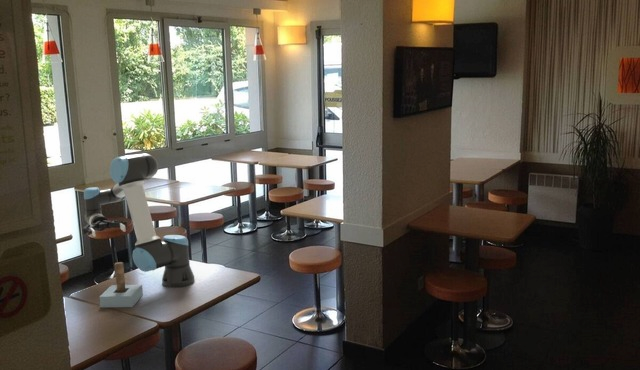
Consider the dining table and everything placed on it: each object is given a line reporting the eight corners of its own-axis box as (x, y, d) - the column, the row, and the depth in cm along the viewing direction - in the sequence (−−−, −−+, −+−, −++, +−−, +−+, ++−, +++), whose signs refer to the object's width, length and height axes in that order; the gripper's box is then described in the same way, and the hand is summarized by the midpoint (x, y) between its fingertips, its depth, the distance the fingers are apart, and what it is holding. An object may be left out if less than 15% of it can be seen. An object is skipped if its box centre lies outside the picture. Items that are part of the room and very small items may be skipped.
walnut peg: (127, 298, 258) (124, 262, 254) (124, 301, 254) (121, 264, 251) (119, 298, 258) (116, 262, 254) (116, 301, 254) (113, 264, 251)
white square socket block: (142, 294, 263) (141, 284, 262) (132, 307, 249) (131, 296, 248) (112, 295, 263) (111, 284, 262) (100, 307, 249) (99, 296, 248)
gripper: (125, 225, 291) (137, 234, 274) (72, 233, 278) (82, 243, 260) (123, 211, 290) (136, 219, 272) (71, 218, 276) (80, 227, 259)
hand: (109, 231), depth 266 cm, fingers open, 13 cm apart
